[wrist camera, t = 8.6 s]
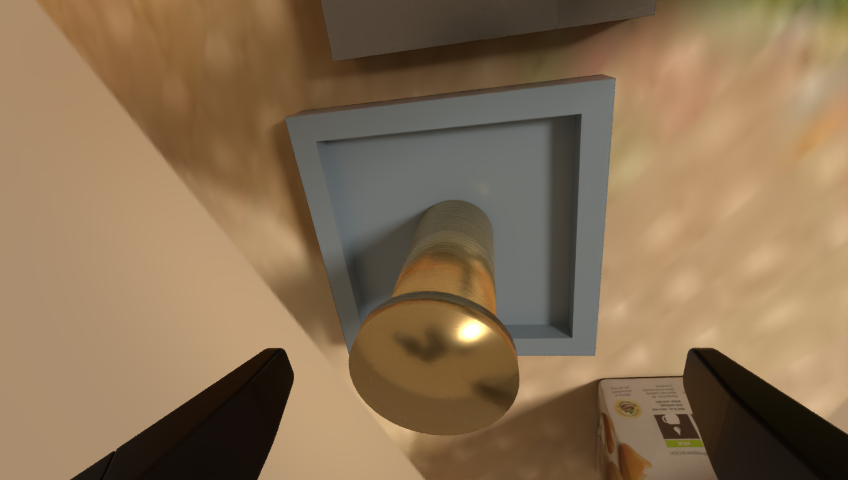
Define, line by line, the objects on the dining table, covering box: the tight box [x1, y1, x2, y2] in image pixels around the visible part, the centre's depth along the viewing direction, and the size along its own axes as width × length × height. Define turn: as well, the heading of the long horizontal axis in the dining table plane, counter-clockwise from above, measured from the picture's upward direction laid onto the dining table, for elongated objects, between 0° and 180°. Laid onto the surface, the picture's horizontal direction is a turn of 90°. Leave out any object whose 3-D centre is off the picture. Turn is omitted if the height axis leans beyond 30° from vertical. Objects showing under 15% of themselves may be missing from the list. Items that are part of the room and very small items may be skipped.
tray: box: [285, 74, 616, 356], centre depth 21 cm, size 14×14×2 cm
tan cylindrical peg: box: [349, 200, 519, 435], centre depth 16 cm, size 5×5×10 cm
